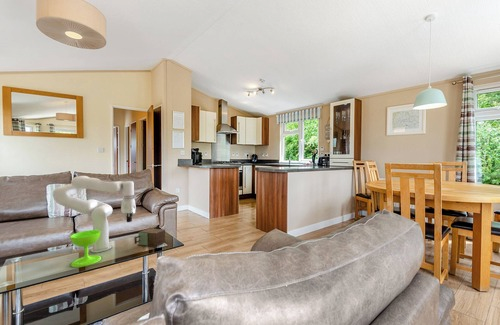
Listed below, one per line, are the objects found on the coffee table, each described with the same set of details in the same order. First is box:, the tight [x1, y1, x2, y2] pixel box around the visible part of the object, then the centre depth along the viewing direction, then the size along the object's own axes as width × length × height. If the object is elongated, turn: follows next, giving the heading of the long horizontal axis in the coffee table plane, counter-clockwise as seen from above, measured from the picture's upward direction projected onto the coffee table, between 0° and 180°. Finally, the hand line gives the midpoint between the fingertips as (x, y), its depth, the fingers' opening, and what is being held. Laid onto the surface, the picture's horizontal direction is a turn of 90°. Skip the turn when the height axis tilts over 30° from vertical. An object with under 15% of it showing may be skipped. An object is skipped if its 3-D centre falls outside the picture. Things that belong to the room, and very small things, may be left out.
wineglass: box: [69, 229, 102, 268], centre depth 146 cm, size 16×16×18 cm
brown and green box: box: [137, 227, 166, 249], centre depth 175 cm, size 16×12×10 cm
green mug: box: [133, 232, 148, 246], centre depth 169 cm, size 8×6×9 cm
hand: (129, 221), depth 170 cm, fingers closed
